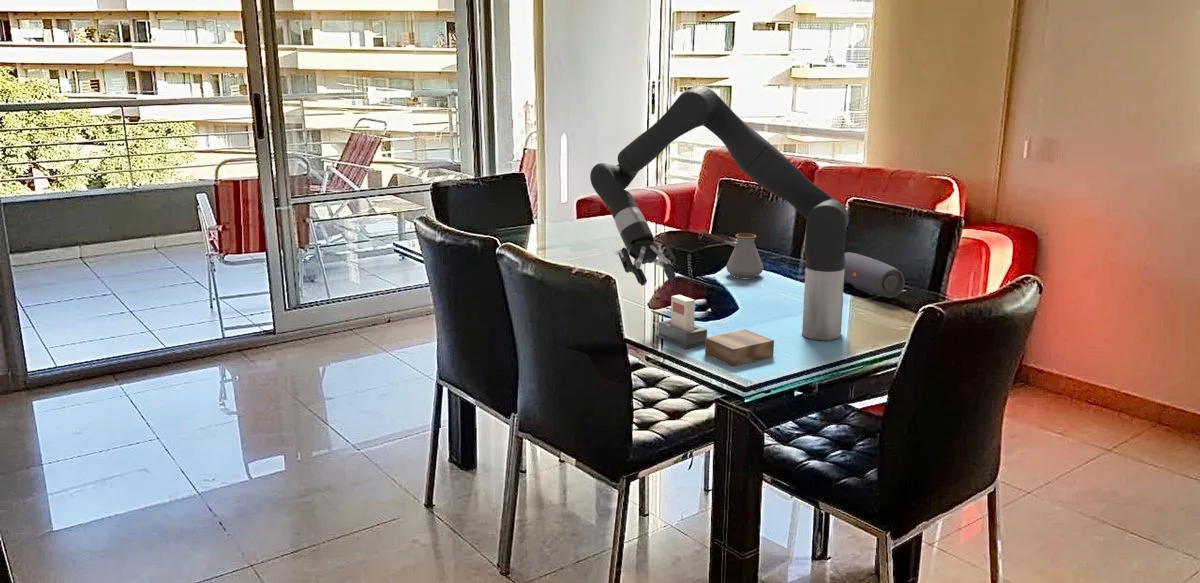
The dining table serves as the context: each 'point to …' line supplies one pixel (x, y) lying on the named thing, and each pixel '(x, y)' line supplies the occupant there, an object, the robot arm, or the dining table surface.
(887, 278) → the bluetooth speaker
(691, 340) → the grey box
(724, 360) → the brown wooden block
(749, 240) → the coffee pot
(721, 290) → the dining table surface
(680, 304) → the white box
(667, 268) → the robot arm
